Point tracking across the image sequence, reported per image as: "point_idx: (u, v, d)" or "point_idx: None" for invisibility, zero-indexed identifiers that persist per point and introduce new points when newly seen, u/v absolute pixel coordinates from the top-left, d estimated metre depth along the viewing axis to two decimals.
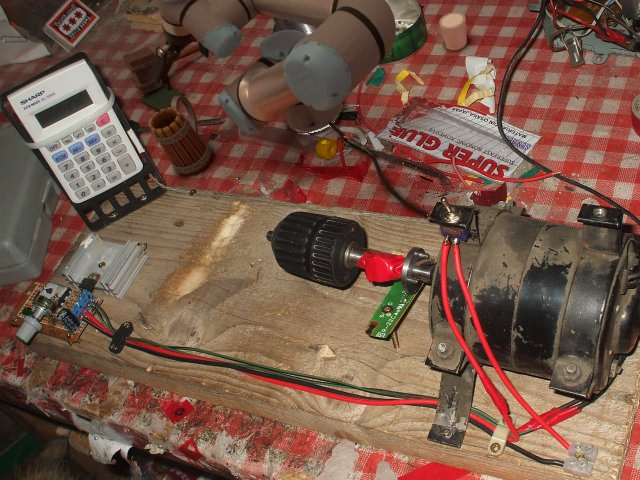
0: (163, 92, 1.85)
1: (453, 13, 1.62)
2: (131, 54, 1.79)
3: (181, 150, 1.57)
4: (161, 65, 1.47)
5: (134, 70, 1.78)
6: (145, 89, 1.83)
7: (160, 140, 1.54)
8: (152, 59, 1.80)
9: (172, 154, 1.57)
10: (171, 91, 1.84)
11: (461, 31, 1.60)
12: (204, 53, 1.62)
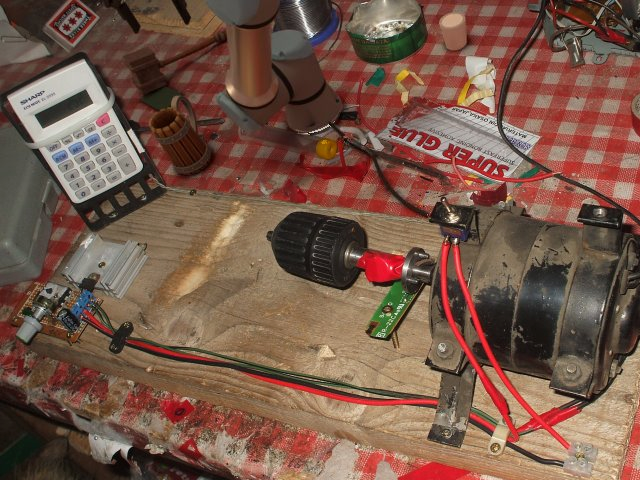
0: (163, 92, 1.85)
1: (453, 13, 1.62)
2: (131, 54, 1.79)
3: (181, 150, 1.57)
4: None
5: (134, 70, 1.78)
6: (145, 89, 1.83)
7: (160, 140, 1.54)
8: (152, 59, 1.80)
9: (172, 154, 1.57)
10: (171, 91, 1.84)
11: (461, 31, 1.60)
12: None
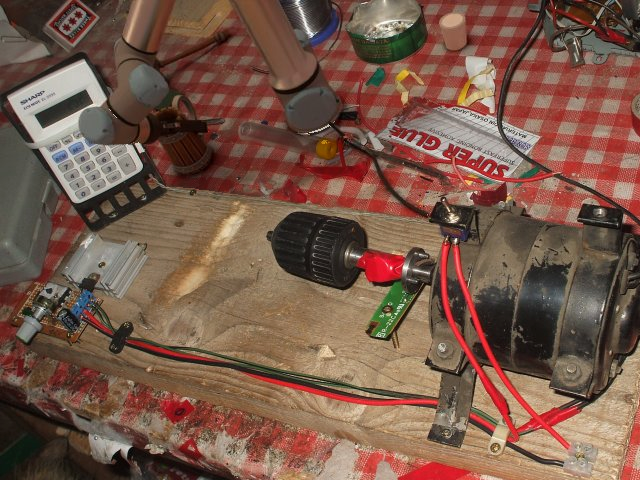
0: None
1: (453, 13, 1.62)
2: None
3: (181, 150, 1.56)
4: None
5: None
6: None
7: (161, 139, 1.54)
8: None
9: (172, 153, 1.57)
10: (171, 91, 1.84)
11: (461, 31, 1.60)
12: None
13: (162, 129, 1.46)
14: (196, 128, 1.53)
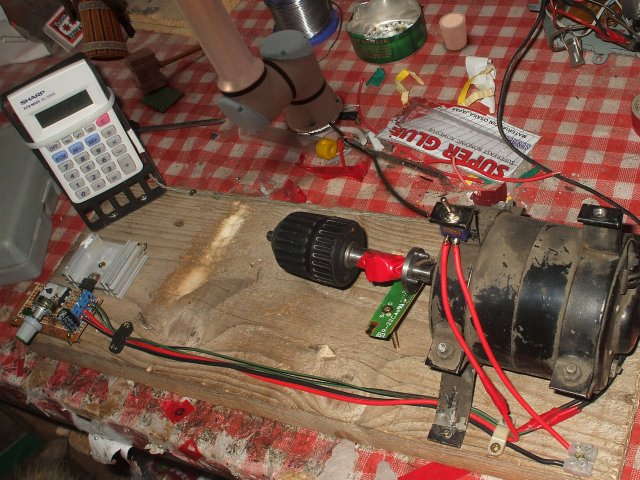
0: (163, 92, 1.85)
1: (453, 13, 1.62)
2: (131, 54, 1.79)
3: (96, 21, 1.56)
4: None
5: (134, 70, 1.78)
6: (145, 89, 1.83)
7: (81, 5, 1.56)
8: (152, 59, 1.80)
9: (86, 24, 1.57)
10: (171, 91, 1.84)
11: (461, 31, 1.60)
12: None
13: None
14: (119, 0, 1.56)
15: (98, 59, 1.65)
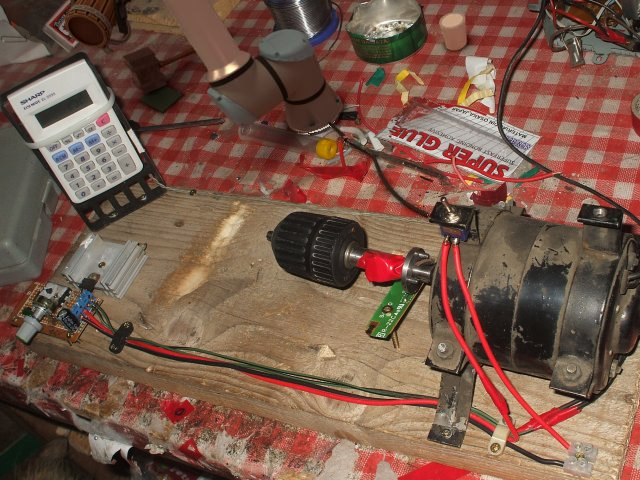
0: (163, 92, 1.85)
1: (453, 13, 1.62)
2: (131, 54, 1.79)
3: None
4: None
5: (134, 70, 1.78)
6: (145, 89, 1.83)
7: None
8: (152, 59, 1.80)
9: None
10: (171, 91, 1.84)
11: (461, 31, 1.60)
12: None
13: None
14: None
15: (77, 38, 1.57)
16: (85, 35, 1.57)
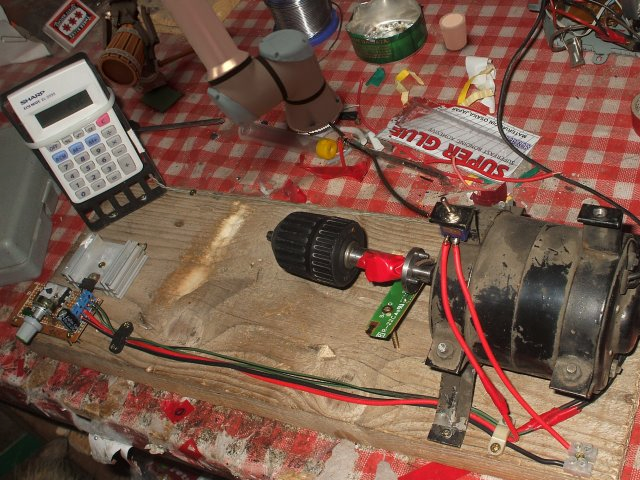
0: (163, 92, 1.85)
1: (453, 13, 1.62)
2: None
3: (124, 38, 1.66)
4: None
5: None
6: (144, 88, 1.83)
7: (118, 30, 1.69)
8: None
9: (114, 40, 1.66)
10: (171, 91, 1.84)
11: (461, 31, 1.60)
12: None
13: (133, 1, 1.68)
14: (152, 32, 1.69)
15: (109, 78, 1.69)
16: (117, 75, 1.68)
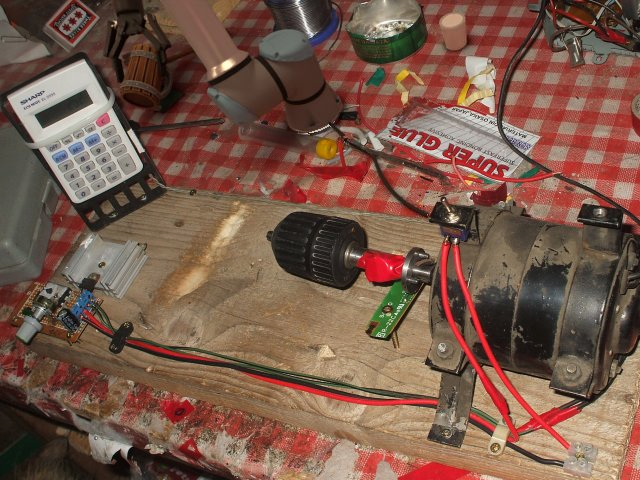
0: None
1: (453, 13, 1.62)
2: (129, 53, 1.80)
3: (142, 66, 1.70)
4: None
5: None
6: None
7: (133, 52, 1.72)
8: None
9: (132, 66, 1.70)
10: (171, 91, 1.84)
11: (461, 31, 1.60)
12: None
13: (140, 12, 1.71)
14: (163, 36, 1.71)
15: (130, 102, 1.75)
16: (137, 100, 1.75)
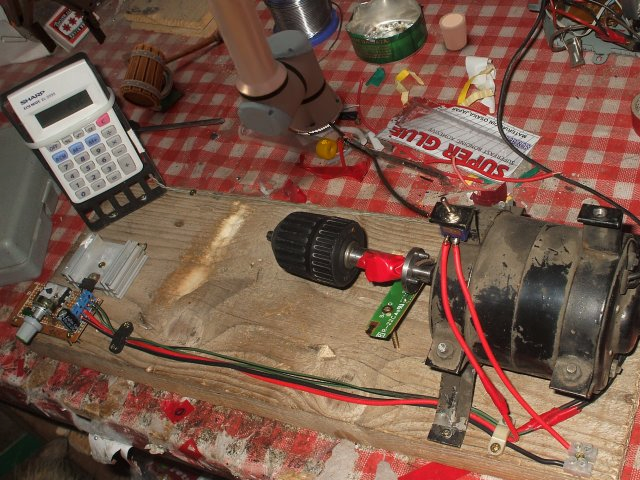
0: None
1: (453, 13, 1.62)
2: (129, 53, 1.80)
3: (142, 65, 1.70)
4: None
5: None
6: None
7: (134, 52, 1.72)
8: None
9: (132, 66, 1.70)
10: (171, 91, 1.84)
11: (461, 31, 1.60)
12: None
13: None
14: (83, 1, 1.35)
15: (130, 101, 1.75)
16: (137, 100, 1.75)
